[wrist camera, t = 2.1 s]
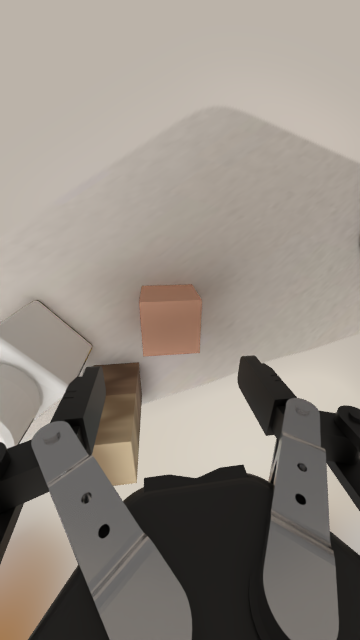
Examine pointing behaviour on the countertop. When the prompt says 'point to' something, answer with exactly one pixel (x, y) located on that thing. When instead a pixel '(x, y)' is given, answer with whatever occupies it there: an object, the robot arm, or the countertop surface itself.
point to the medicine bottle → (35, 367)
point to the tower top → (118, 439)
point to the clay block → (170, 319)
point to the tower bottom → (123, 381)
